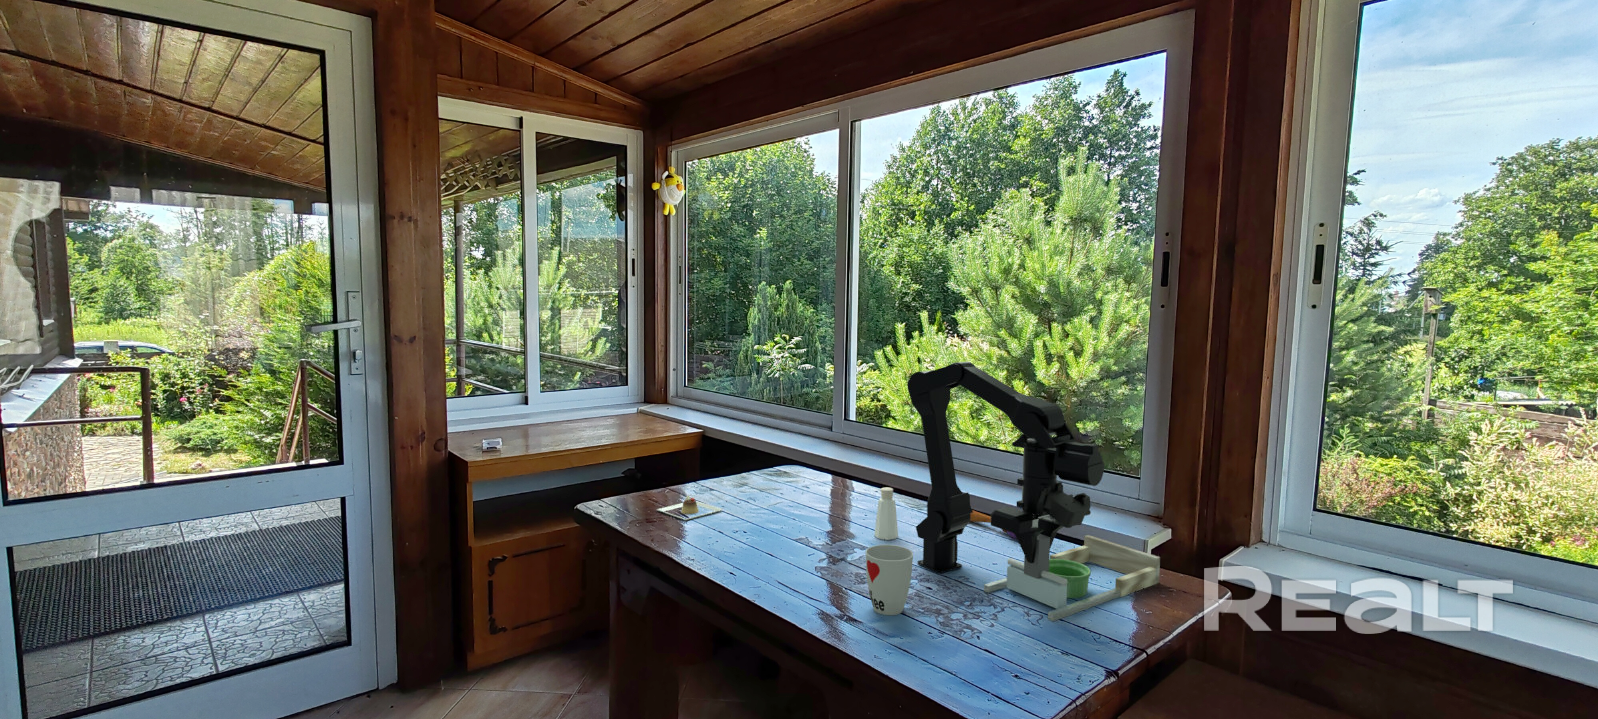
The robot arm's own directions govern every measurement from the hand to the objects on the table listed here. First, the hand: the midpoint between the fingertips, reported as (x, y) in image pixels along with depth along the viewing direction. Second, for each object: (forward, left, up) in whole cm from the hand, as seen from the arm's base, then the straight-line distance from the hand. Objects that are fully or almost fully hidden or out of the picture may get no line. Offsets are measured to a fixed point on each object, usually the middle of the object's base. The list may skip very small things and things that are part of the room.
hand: (1036, 560), depth 127 cm
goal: (+11, 0, -7) cm, 13 cm away
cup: (-25, +11, -7) cm, 28 cm away
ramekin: (+8, 0, -7) cm, 11 cm away
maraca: (+25, +31, -8) cm, 40 cm away
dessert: (-29, +82, -8) cm, 88 cm away
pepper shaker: (0, +41, -7) cm, 42 cm away
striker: (0, 0, -7) cm, 7 cm away
